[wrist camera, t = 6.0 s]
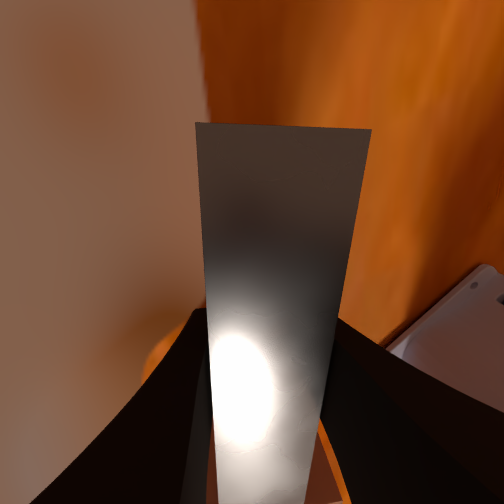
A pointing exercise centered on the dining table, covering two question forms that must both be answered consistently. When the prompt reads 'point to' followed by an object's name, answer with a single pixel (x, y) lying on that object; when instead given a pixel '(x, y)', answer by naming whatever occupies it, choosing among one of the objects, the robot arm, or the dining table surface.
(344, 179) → the tall grey plank
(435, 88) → the dining table surface
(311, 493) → the tile
